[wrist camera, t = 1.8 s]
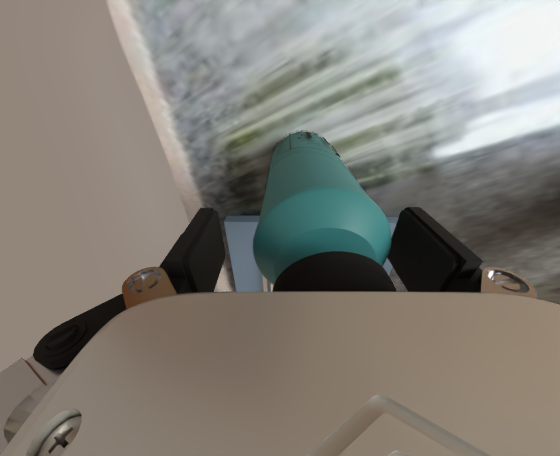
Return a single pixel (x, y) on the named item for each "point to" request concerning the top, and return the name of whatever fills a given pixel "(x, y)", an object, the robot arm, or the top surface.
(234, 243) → the board
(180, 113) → the top surface
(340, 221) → the beverage bottle
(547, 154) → the top surface
